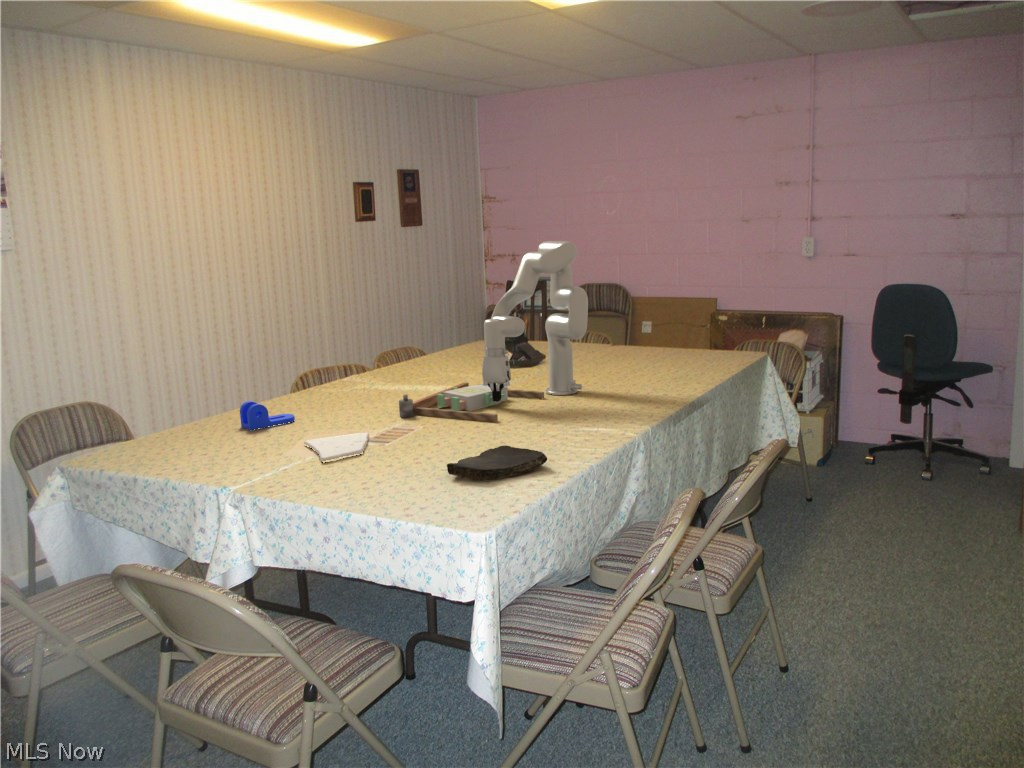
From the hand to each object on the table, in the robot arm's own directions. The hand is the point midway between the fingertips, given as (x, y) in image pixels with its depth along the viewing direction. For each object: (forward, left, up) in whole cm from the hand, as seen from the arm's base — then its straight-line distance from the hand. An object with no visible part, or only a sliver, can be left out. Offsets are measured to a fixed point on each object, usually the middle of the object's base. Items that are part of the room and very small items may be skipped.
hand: (497, 400), depth 308 cm
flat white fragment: (+19, +66, -3) cm, 69 cm away
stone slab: (-37, +69, -3) cm, 78 cm away
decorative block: (+12, -2, -3) cm, 12 cm away
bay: (+9, +3, -3) cm, 10 cm away
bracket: (+66, +49, -3) cm, 83 cm away
